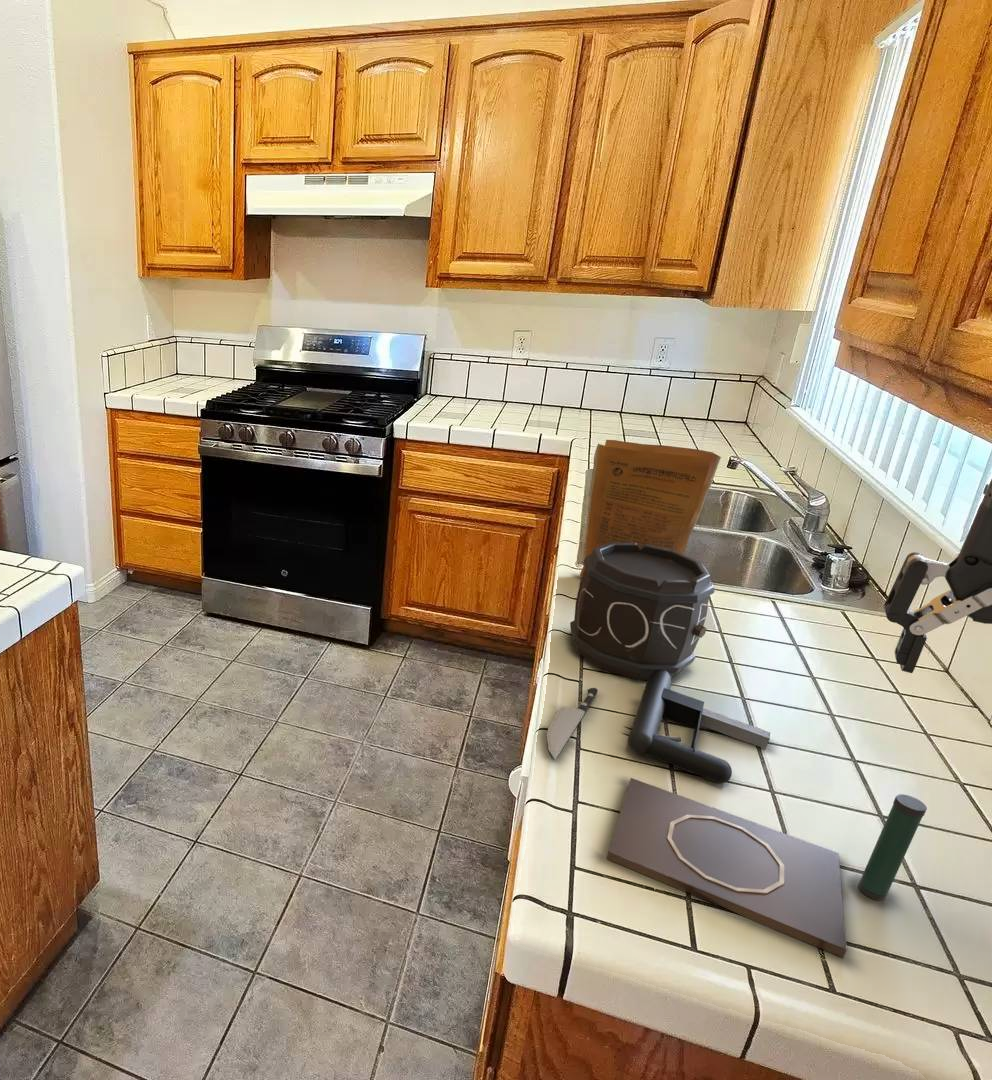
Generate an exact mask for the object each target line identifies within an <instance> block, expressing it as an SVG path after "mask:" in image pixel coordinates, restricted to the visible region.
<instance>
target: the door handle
mask: <svg viewBox="0 0 992 1080" xmlns="http://www.w3.org/2000/svg"><path fill="white" fill-rule="evenodd" d="M642 677H644V676H642ZM645 678H647V677H645ZM671 687H672V678H671V676H670V674H669V673H668V672H667V671H665V670H661V669H659V670H655V671H654V672H653V673H652V674H651V675H650V676H649V678H648V680H646V684H645V686H644V690H643V692H642V696H641V699H640V702H639V705H638V708H637V710H636V714H635V716H634V719H633V722H632V725H631V727H629V726H624V725H623V727H624V728H626V729H627V730H630V731H629V733H624V732H622V734H623V735H625V736H626V737H628V738H627V745H628V747H629V750H631V751H632V752H633V753H635V754H637V755H639V756H649V757H651V758H654V759H656V760H659V761H662V762H664V763H666V764H669V765H671V766H674V767H677V768H679V769H681V770H684V771H687V772H689V773H692V774H694V775H697V776H699V777H702V778H704V779H707V780H710V781H712V782H715V783H717V784H725V783H727V782H728V781H729V780H731V778H732V775H733V770H732V767H731V764H730V763H729V762H728V761H727V760H725V759H723V758H720V757H718V756H715V755H712V754H710V753H707V752H705V751H702V750H699V749H697V742H698V739H699V737H698V736H699V732H700V726H701V727H705V728H706V729H709V730H713V731H714V732H718V733H721V734H723V735H726V736H729V737H731V738H734V739H737V740H740V741H742V742H745V743H748V744H750V745H754V746H756V747H759V748H761V749H765V750H766V748H767V746H768V745H769V742H770V740H771V731H768V730H766V729H763V728H759V727H756V726H754V725H751V724H749V723H746V722H742V721H740V720H737V719H734V718H731V717H728V716H726V715H723V714H720V713H717V712H714V711H711V710H709V709H706V708H704V705H705V701H702V700H700V699H697V698H694V697H692V696H688V695H686V694H683V693H680V692H677V691H674V690H672V689H671ZM663 718H664V719H666V720H670V721H672V722H675V723H677V724H680V725H683V726H686V727H688V728H690V729H691V728H692V729H694V730H693V733H692V734H693V735H692V739H691V745H686V744H683V743H681V742H682V737H681V736H671V735H664V734H659V731H660V727H661V724H662V720H663Z"/></svg>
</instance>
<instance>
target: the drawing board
mask: <svg viewBox="0 0 992 1080" xmlns="http://www.w3.org/2000/svg"><path fill="white" fill-rule="evenodd" d="M839 855H840V854H839V852H838V851H835V850H832V849H829V848H826V847H823V846H821V845H818V844H814V843H812V842H810V841H806V840H804V839H801V838H799V837H796V836H793V835H790V834H787V833H785V832H782V831H779V830H776V829H774V828H771V827H769V826H766V825H762V824H759V823H757V822H755V821H752V820H750V819H749V820H748V819H746V818H743V817H740V816H737V815H735V814H732V813H731V812H730V813H729V812H726V811H724V810H721V809H718V808H715V807H712V806H710V805H708V804H704V803H701V802H699V801H697V800H693V799H690V798H688V797H685V796H683V795H679V794H677V793H674V792H672V791H670V790H669V791H668V790H666V789H663V788H660V787H657V786H655V785H653V784H649V783H647V782H644V781H641V780H638V779H636V778H633V777H630V778H629V781H628V786H627V789H626V792H625V794H624V798H623V801H622V805H621V808H620V811H619V815H618V818H617V821H616V824H615V828H614V831H613V834H612V838H611V841H610V844H609V846H608V850H607V855H606V857H605V858H606V860H608V861H611V862H613V863H615V864H618V865H620V866H623V867H625V868H627V869H630V870H633V871H634V872H637V873H639V874H642V875H645V876H646V877H649V878H652V879H654V880H655V881H656V880H657V881H658V882H661V883H664V884H665V885H668V886H671V887H673V888H675V889H678V890H680V891H682V892H685V893H687V894H690V895H692V896H695V897H697V898H699V899H702V900H704V901H705V902H709V903H711V904H714V905H715V906H718V907H720V908H723V909H726V910H729V911H731V912H733V913H735V914H737V915H740V916H742V917H744V918H747V919H749V920H752V921H755V922H757V923H759V924H761V925H764V926H767V927H768V928H771V929H773V930H776V931H778V932H781V933H783V934H784V935H785V934H786V935H788V936H790V937H793V938H795V939H796V940H800V941H802V942H804V943H806V944H809V945H811V946H815V947H817V948H818V949H821V950H823V951H826V952H829V953H831V954H833V955H835V956H838V957H840V958H845V955H846V953H847V951H848V945H847V936H846V934H847V933H846V925H845V924H846V923H845V922H846V921H845V911H844V899H843V889H842V877H841V864H840V856H839Z"/></svg>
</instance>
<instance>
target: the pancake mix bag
mask: <svg viewBox="0 0 992 1080" xmlns="http://www.w3.org/2000/svg"><path fill="white" fill-rule="evenodd" d="M721 459H722V456H720V455H718V454H716V453H715V452H713V451H708V450H703V449H696V448H690V447H689V448H688V447H682V446H681V447H679V446H673V445H662V444H645V443H638V442H630V441H623V440H616V439H606V440H605V444H602V443H597V445H596V448H595V451H594V455H593V467H592V471H591V480H590V485H589V490H588V504H587V520H586V533H585V534H586V535H585V543H584V548H585V549H584V558H585V557H586V556H588V555H591V554H592V552H593V550H594V549H595V548H597V547H600V546H602V545H605V544H607V543H610V542H631V543H637V545H638V548H639V549H640V548H641V547H642V546H643V545H644V544H649V545H653V546H658V547H662V548H667V549H671V550H675V551H677V552H679V553H682V554H684V555H685V553H686V550H687V546H688V543H689V540H690V537H691V535H692V533H693V530H694V528H695V526H696V525H697V522H698V520H699V517H700V515H701V512H702V511H703V507H704V504H705V501H706V498H707V495H708V492H709V491H710V489H711V486H712V485H713V482H714V479H715V475H716V472H717V470H718V466H719V464H720V461H721ZM584 570H585V565H584V564H583V566H582V568H581V571H580V573H579V577H581V578H582V576H583V573H584Z"/></svg>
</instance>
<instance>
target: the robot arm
mask: <svg viewBox="0 0 992 1080" xmlns="http://www.w3.org/2000/svg"><path fill="white" fill-rule="evenodd" d="M981 494H982V496H981V499H980V501H979V503H978V506H977V508H976V511H975V514H974V515H973V519H972V521H971V524H970V526H969V528H968V531H967V533H966V536H965V538H964V541H963V543H962V546H961V548H960V550H959V553H958V555H957V556H956V557H955V558H954V559H953V560H952V561H951V562H949V563H947V562H946V563H945V562H941V561H937V560H934V559H929V558H925V557H924V555H923V554H922V553H920V552H916V551H915V552H914V551H913V552H911V553H909V554H908V555H906V557H905V559H904V561H903V564H902V566H901V568H900V569H899V572H898V574H897V575H896V576H897V577H896V578H895V581H894V582H893V585H892V586H891V590H890V591H889V593H888V596H887V598H886V600H885V602H884V604H883V609H884V613H885V616H886V619H887V621H889V622H890V623H893V624H896V625H899V626H901V627H902V630H901V633H900V636H899V638H898V642H897V643H896V646H895V648H894V651H893V652H894V658H895V661H896V664H899V666H900V667H899V668H900V669H901V672H905V673H909V674H914V671H915V669H916V666H917V664H918V661H919V659H920V657H921V654H922V651H923V649H924V646H925V644H926V642H927V640H928V636H927V635H926V634H927V633H929V632H931V631H933V630H936V629H938V628H939V627H941V626H943V625H950V624H953V623H955V622H957V621H959V620H962V619H963V618H965V617H968V618H969V619H971V620H972V622H974V623H981V624H984V625H992V473H991V474H990V477H989V479H988V481H987V482H986V483H985V485H984V487H983V489H982V492H981ZM940 577H944V578H945V581H946V583H947V585H948V586H949V588H950V589H949V590H947V591H945V592H943V593H941V594H940V595H938V596H936V597H934V598H932V599H931V600H930V602H928V603H927V604H925V605H923V606H920V607H919V608H918V609H916V610H911V609H910V607H911V605H912V603H913V601H914V599H915V597H916V595H917V593H918V591H919V589H920V587H921V585H922V586H923V585H924V586H927V585H929V584H931V583H932V582H933V581H934V580H935V579H937V578H940Z"/></svg>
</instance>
